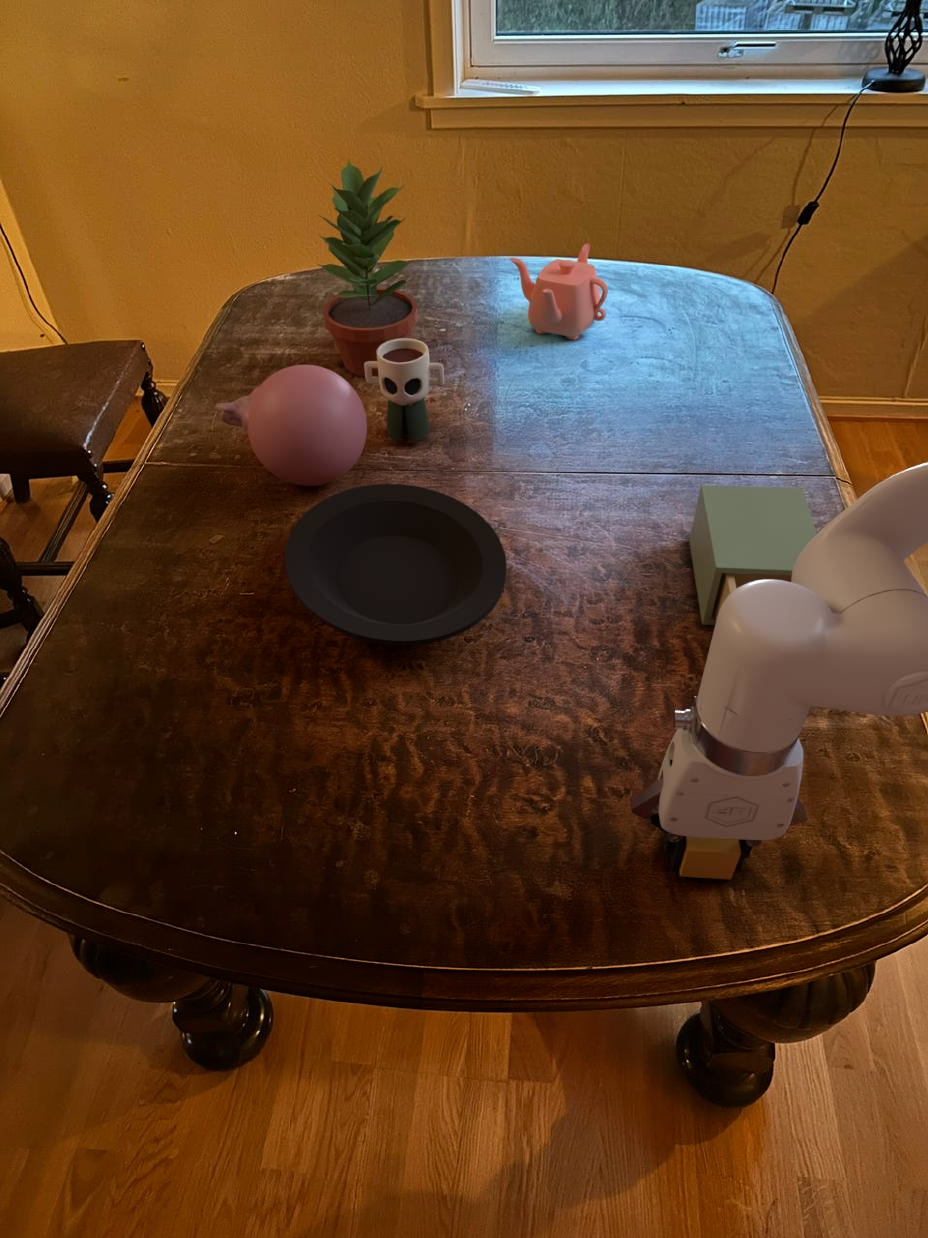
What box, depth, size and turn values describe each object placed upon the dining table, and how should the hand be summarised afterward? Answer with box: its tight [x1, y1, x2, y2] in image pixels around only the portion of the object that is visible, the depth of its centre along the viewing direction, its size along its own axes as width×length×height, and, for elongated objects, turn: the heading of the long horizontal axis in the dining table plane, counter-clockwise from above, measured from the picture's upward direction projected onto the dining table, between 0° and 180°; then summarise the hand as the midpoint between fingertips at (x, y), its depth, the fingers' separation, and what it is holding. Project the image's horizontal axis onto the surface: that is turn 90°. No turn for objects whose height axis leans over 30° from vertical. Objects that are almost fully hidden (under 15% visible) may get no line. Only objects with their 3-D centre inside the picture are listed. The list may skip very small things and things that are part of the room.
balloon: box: [214, 364, 368, 487], centre depth 115 cm, size 15×20×15 cm
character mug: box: [364, 338, 445, 443], centre depth 122 cm, size 11×7×13 cm, turn 85°
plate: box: [284, 483, 508, 647], centre depth 102 cm, size 28×24×6 cm
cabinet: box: [689, 484, 818, 626], centre depth 100 cm, size 15×12×9 cm
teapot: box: [509, 242, 609, 340], centre depth 145 cm, size 14×14×11 cm
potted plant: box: [316, 158, 419, 377], centre depth 131 cm, size 15×15×30 cm
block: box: [678, 836, 741, 880], centre depth 77 cm, size 4×4×4 cm
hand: (703, 853), depth 78 cm, fingers closed on block, 4 cm apart
